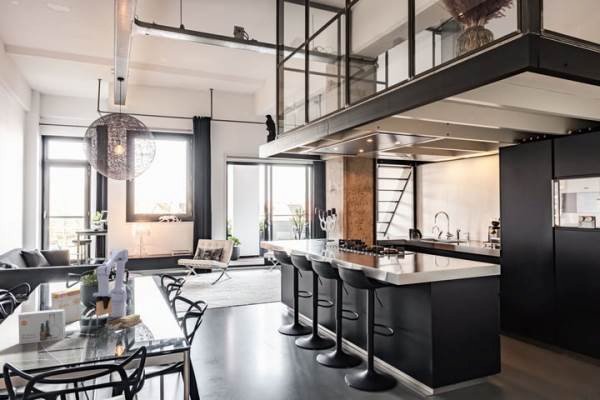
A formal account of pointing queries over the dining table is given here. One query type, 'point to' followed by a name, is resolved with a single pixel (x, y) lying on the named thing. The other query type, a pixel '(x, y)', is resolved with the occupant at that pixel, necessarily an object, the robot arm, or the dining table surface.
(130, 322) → the plywood offcut stack
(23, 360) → the dining table surface
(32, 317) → the skincare box
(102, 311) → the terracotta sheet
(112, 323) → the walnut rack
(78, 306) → the coffeecake box
